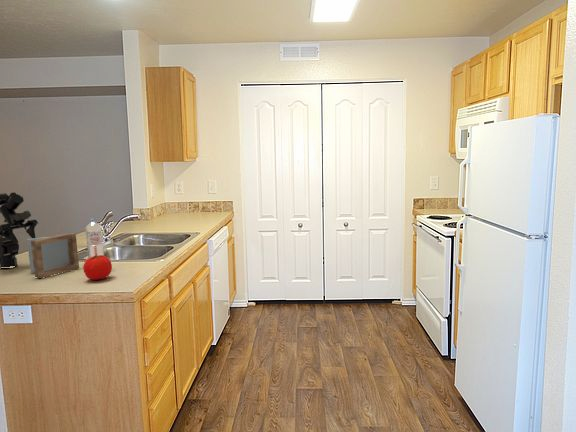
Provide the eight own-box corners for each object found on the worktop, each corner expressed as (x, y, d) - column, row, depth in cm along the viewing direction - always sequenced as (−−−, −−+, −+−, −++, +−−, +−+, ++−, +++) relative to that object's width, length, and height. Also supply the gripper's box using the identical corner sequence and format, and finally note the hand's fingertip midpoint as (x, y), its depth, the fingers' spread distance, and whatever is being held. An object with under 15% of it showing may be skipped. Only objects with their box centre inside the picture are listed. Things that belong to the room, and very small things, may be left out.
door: (31, 271, 215) (27, 238, 213) (70, 266, 223) (67, 234, 221) (30, 272, 213) (27, 239, 211) (70, 267, 221) (67, 235, 218)
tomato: (104, 274, 207) (102, 250, 206) (117, 278, 200) (115, 253, 199) (79, 280, 198) (76, 255, 197) (92, 284, 191) (89, 259, 190)
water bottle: (107, 268, 218) (102, 217, 214) (101, 272, 211) (97, 219, 208) (93, 269, 218) (88, 218, 214) (87, 273, 211) (82, 220, 207)
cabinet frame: (35, 278, 204) (30, 240, 202) (73, 267, 222) (70, 233, 219) (40, 279, 203) (36, 241, 200) (79, 268, 220) (75, 233, 218)
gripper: (-1, 208, 209) (16, 235, 207) (35, 203, 226) (51, 228, 224) (-12, 221, 213) (5, 248, 211) (24, 216, 230) (40, 240, 228)
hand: (26, 241), depth 219 cm, fingers open, 9 cm apart
